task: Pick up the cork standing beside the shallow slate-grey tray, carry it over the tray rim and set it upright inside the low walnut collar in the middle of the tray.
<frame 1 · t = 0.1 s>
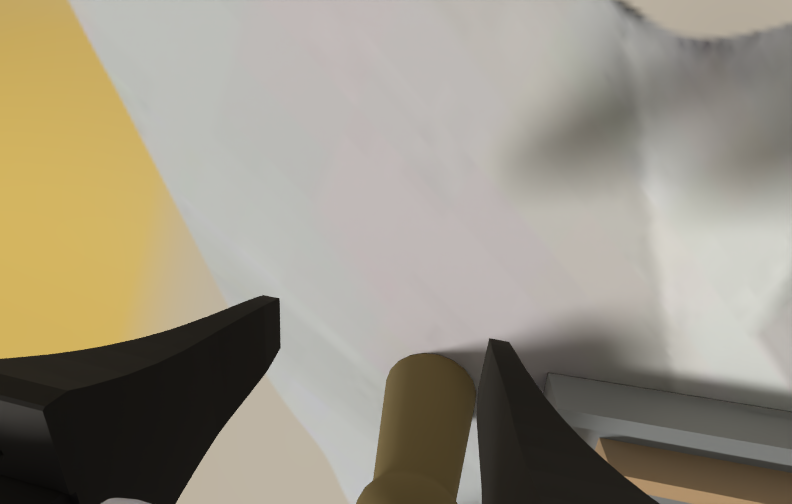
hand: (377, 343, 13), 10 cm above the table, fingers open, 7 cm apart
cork: (430, 389, 26), on the table
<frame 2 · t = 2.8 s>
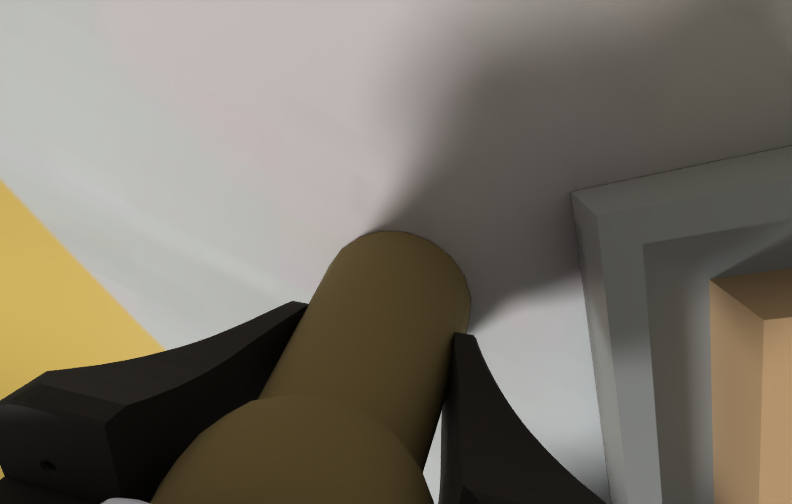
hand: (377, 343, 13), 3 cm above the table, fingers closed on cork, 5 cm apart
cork: (395, 299, 16), on the table, touching gripper
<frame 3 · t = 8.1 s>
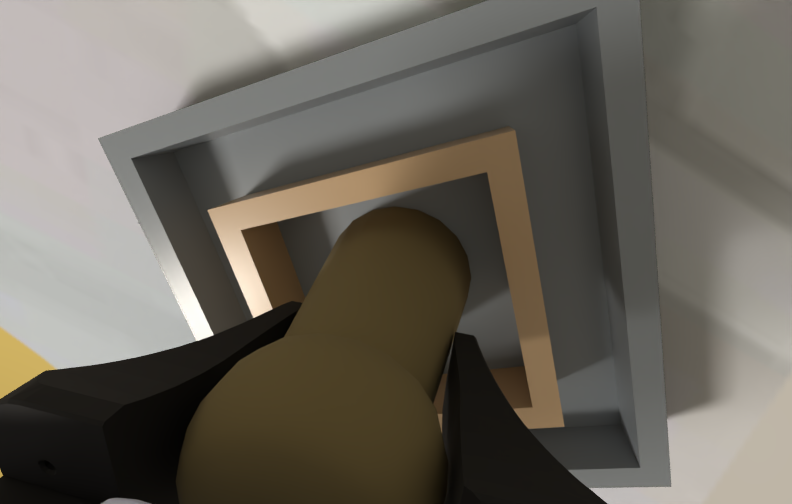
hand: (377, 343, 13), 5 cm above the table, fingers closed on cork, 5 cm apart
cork: (399, 274, 16), point 1 cm above the table, touching gripper, tray
tray: (403, 282, 17), on the table
when the fingers open (4 cm above the table, at t = 8.9 s): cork stays where it is, resting on tray.
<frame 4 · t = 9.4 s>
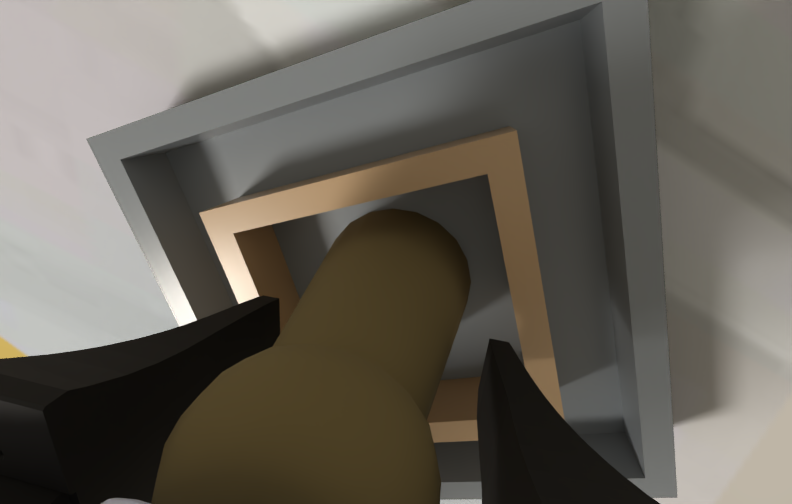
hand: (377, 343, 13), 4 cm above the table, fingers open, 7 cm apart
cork: (397, 277, 16), point 1 cm above the table, touching tray
tray: (401, 286, 17), on the table
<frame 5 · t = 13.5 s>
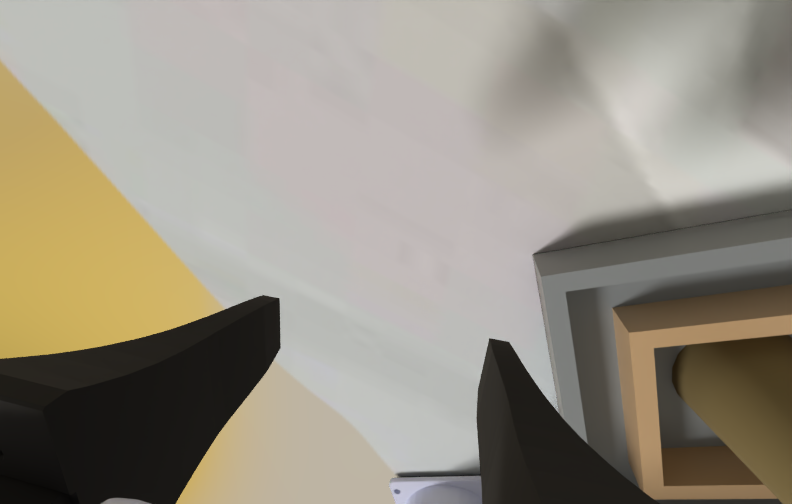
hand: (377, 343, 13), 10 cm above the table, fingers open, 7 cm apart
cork: (733, 369, 21), point 1 cm above the table, touching tray
tray: (723, 372, 22), on the table
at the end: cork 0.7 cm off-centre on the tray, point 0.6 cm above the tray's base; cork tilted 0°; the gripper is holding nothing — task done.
